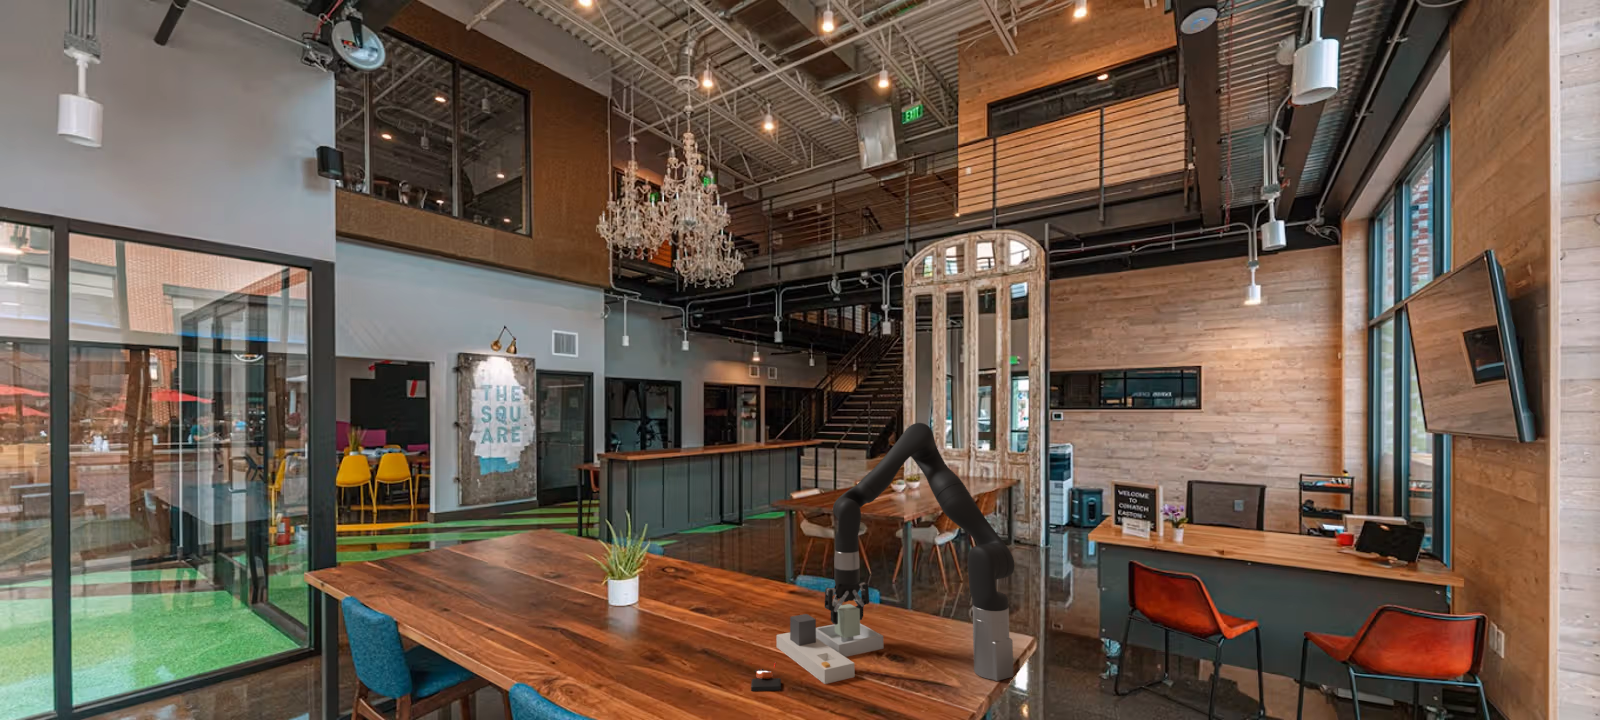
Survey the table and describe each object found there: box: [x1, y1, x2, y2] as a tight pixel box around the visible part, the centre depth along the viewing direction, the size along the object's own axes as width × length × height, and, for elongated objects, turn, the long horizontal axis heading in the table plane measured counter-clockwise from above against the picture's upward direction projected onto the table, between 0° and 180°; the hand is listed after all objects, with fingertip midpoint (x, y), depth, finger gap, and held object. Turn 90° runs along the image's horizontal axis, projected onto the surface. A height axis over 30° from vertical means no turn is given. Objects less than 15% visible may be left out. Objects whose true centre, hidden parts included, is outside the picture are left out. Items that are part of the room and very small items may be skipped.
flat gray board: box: [776, 632, 856, 685], centre depth 172 cm, size 28×9×4 cm, turn 28°
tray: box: [816, 622, 884, 658], centre depth 184 cm, size 15×15×4 cm
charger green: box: [835, 603, 861, 642], centre depth 184 cm, size 5×5×10 cm
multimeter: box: [750, 662, 782, 692], centre depth 162 cm, size 18×12×3 cm, turn 178°
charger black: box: [789, 613, 817, 646], centre depth 177 cm, size 5×5×9 cm
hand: (847, 621), depth 185 cm, fingers open, 8 cm apart
